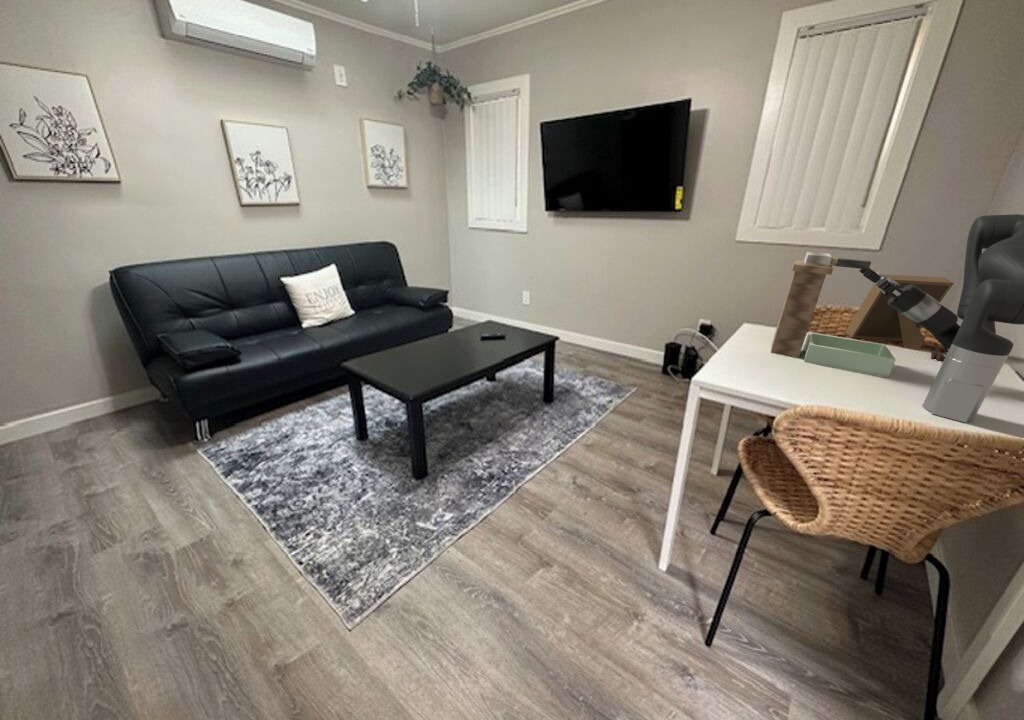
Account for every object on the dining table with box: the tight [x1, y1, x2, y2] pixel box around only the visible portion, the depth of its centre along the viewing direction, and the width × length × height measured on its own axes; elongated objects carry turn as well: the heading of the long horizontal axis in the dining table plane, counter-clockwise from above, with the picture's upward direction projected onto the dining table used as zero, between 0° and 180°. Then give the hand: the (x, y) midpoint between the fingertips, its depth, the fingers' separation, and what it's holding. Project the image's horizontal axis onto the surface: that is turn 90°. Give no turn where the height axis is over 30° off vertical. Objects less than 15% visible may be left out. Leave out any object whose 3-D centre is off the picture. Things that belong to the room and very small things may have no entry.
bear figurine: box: [930, 347, 949, 362], centre depth 136 cm, size 18×4×14 cm
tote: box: [802, 331, 896, 379], centre depth 131 cm, size 21×16×6 cm
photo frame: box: [845, 273, 955, 351], centre depth 148 cm, size 15×22×25 cm
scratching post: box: [770, 258, 834, 359], centre depth 134 cm, size 10×14×30 cm
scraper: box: [804, 251, 872, 269], centre depth 125 cm, size 16×10×3 cm, turn 57°
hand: (863, 270), depth 123 cm, fingers open, 8 cm apart
